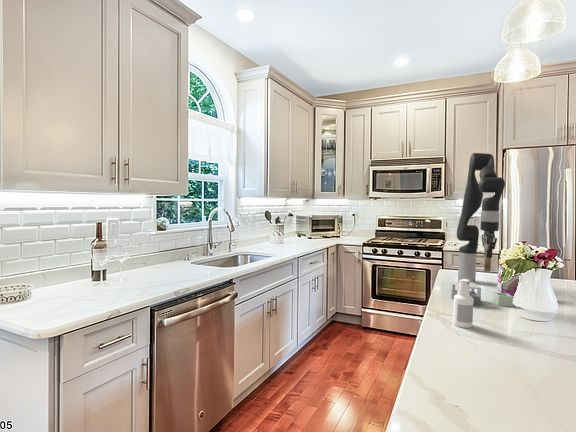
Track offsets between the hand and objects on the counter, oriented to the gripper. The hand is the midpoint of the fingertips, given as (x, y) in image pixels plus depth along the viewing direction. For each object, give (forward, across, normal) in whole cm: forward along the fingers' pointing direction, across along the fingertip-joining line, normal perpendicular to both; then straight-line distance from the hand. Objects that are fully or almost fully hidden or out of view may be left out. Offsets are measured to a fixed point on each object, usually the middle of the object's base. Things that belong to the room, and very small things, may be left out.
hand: (488, 256), depth 167 cm
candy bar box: (+22, -16, +17) cm, 32 cm away
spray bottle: (+22, +33, -19) cm, 44 cm away
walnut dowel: (+7, 0, 0) cm, 7 cm away
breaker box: (+22, 0, -9) cm, 24 cm away
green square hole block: (+22, 0, +7) cm, 23 cm away
